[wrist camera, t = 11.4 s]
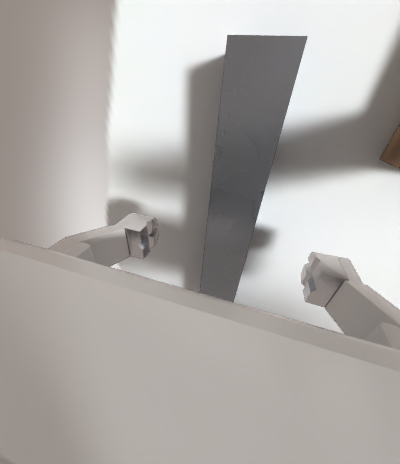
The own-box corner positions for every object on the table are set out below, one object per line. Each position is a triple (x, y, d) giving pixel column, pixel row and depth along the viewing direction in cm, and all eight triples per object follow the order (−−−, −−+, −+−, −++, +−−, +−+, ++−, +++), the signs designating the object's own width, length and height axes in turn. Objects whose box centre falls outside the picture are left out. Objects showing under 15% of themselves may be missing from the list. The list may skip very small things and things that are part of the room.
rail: (232, 296, 17) (227, 322, 15) (205, 289, 17) (197, 312, 15) (297, 53, 8) (307, 35, 6) (236, 51, 8) (227, 34, 6)
